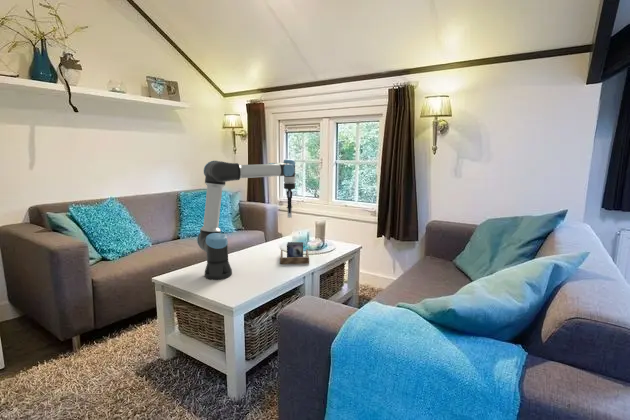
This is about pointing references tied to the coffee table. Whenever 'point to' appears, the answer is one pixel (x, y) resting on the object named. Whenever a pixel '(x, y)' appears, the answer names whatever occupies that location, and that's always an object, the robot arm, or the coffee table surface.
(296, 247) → the small box
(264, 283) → the coffee table surface
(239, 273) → the coffee table surface
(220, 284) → the coffee table surface
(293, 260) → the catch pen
